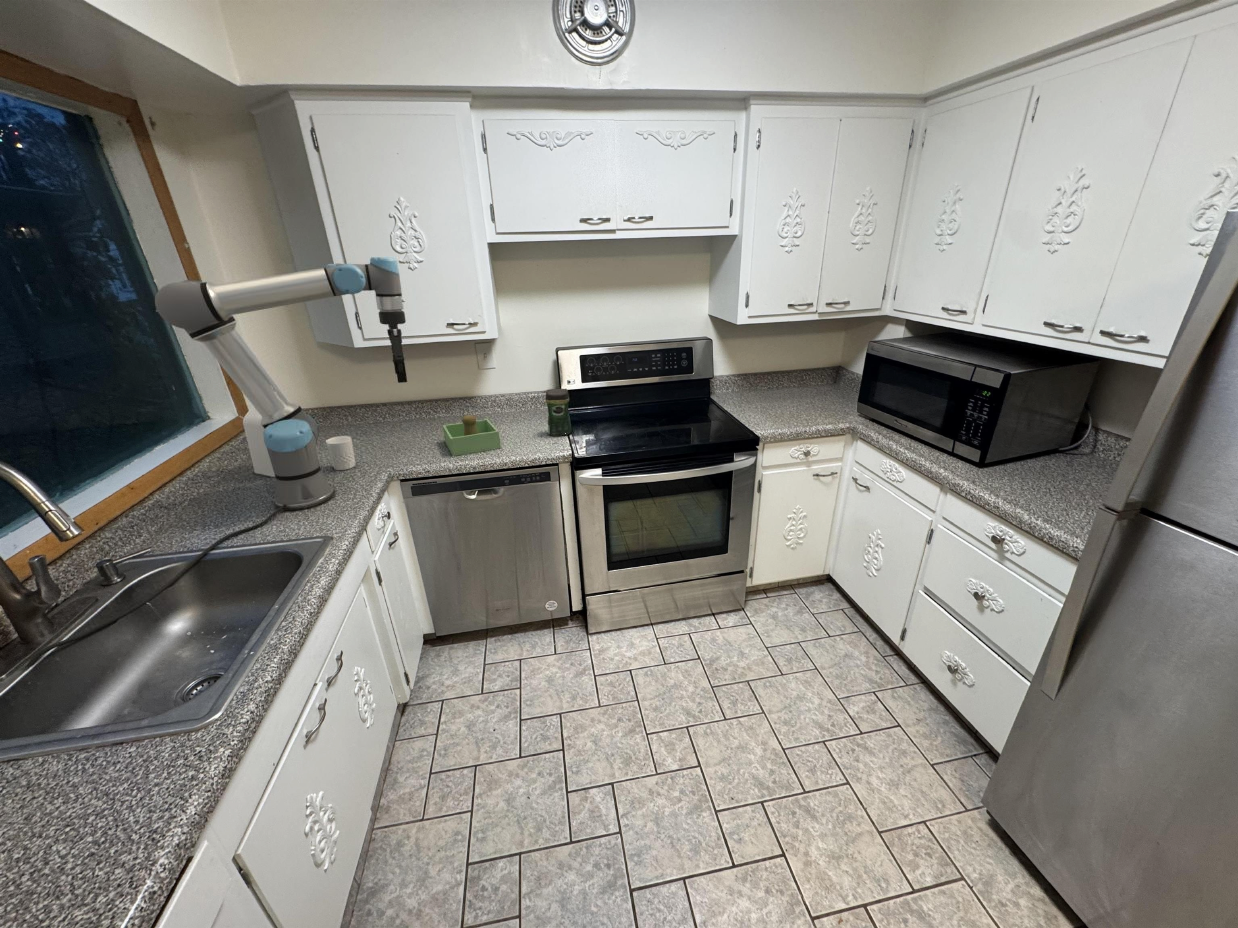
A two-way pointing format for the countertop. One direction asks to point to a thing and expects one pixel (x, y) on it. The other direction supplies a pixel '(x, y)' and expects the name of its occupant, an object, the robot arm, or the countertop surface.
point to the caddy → (471, 438)
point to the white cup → (341, 452)
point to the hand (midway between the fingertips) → (401, 377)
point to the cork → (469, 425)
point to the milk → (257, 443)
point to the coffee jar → (558, 412)
